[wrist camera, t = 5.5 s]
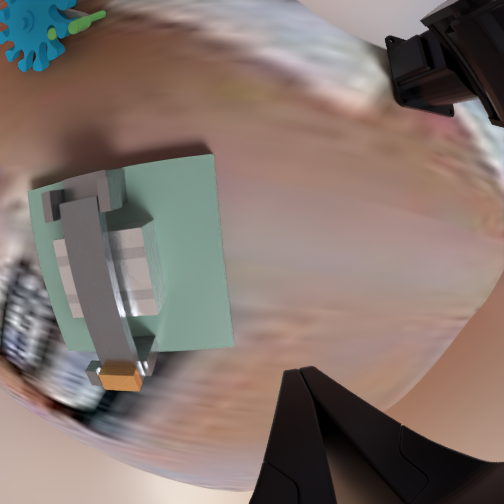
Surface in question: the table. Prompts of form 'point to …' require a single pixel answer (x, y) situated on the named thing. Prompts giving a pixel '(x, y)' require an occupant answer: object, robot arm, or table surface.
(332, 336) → the table surface
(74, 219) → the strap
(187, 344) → the board
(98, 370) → the post
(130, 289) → the heatsink
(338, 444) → the robot arm
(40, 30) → the gear
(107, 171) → the post
